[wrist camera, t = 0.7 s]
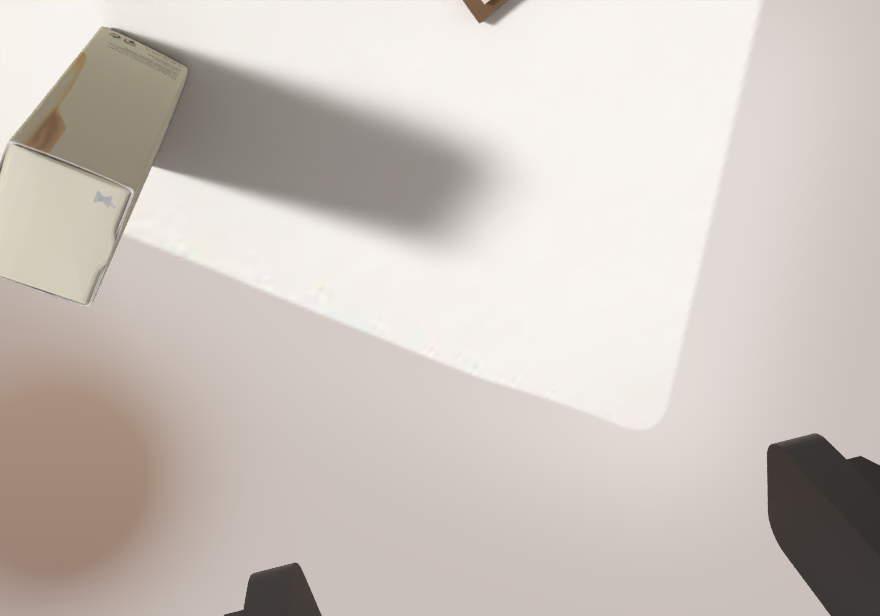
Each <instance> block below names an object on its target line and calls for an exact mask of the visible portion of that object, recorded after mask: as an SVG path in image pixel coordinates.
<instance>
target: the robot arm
mask: <svg viewBox="0 0 880 616" xmlns="http://www.w3.org/2000/svg"><path fill="white" fill-rule="evenodd" d="M767 477H768V478H767V479H768V480H767V481H768V516H769V521H770V525H771V528H772V531H773V534H774V536H775V538H776V540H777V542H778V544H779V546H780V548H781V549H782V551H783V552H784V553H785V555H786V556H787V557H788V559H789V560H790V562H791V563H792V564H793V566H794V567H795V568H796V570H797V571H798V572H799V574H800V575H801V576H802V578H803V579H804V580H805V582H806V583H807V584H808V586H809V587H810V588H811V590H812V591H813V592H814V594H815V595H816V596H817V598H818V599H819V600H820V602H821V603H822V604H823V606H824V607H825V608H826V610H827V611H828V612H829V614H830V615H831V616H880V465H878V464H876V463H874V462H871V461H870V460H868V459H866V458H864V457H862V456H859V457H855V458H851V459H847V460H846V459H845V458H844V457H843V456H842V455H841V454H840V453H839V452H838V451H837V450H836V449H835V448H834V447H833V446H832V445H831V444H830V443H829V442H828V441H827V440H826V439H825V438H824V437H822V436H821V435H819V434H810V435H807V436H802V437H799V438H794V439H790V440H787V441H783V442H779V443H775V444H771V445H770V446H769V448H768V451H767ZM224 616H322V615H321V613H320V611H319V609H318V606H317V604H316V602H315V599H314V597H313V594H312V592H311V590H310V587H309V585H308V583H307V580H306V578H305V576H304V574H303V571H302V569H301V567H300V566H299V564H298V563H292V564H288V565H284V566H280V567H276V568H272V569H269V570H264V571H260V572H256V573H253V574H252V575H251V576H250V578H249V582H248V587H247V592H246V598H245V604H244V610H241V611H238V612H233V613H229V614H225V615H224Z"/></svg>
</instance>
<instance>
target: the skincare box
mask: <svg viewBox="0 0 880 616" xmlns="http://www.w3.org/2000/svg"><path fill="white" fill-rule="evenodd" d="M188 72H189V69H188V68H187V67H186V66H184V65H182V64H180V63H178V62H176V61H174V60H172V59H171V58H169V57H167V56H165V55H163V54H161V53H159V52H157V51H155V50H153V49H151V48H149V47H147V46H145V45H143V44H141V43H139V42H137V41H135V40H133V39H131V38H129V37H126V36H124V35H122V34H120V33H118V32H115V31H113V30H111V29H109V28H106V27H101V28H100V29H99V30H98V31H97V32H96V34H95V35H94V36H93V38H92V39H91V40H90V41H89V43H88V44H87V45H86V46H85V48H84V49H83V50H82V51H81V53H80V54H79V55H78V57H77V58H76V59H75V60H74V61H73V63H72V64H71V65H70V66H69V68H68V69H67V70H66V71H65V73H64V74H63V75H62V76H61V77H60V79H59V80H58V81H57V83H56V84H55V85H54V86H53V88H52V89H51V90H50V91H49V93H48V94H47V95H46V96H45V97H44V99H43V100H42V101H41V103H40V104H39V105H38V106H37V108H36V109H35V110H34V111H33V113H32V114H31V115H30V116H29V117H28V119H27V120H26V121H25V122H24V123H23V125H22V126H21V127H20V128H19V130H18V131H17V132H16V133H15V135H14V136H13V137H12V138H11V139H10V140H9V141H8V143H7V144H6V147H5V150H4V153H3V155H2V158H1V161H0V278H2V279H5V280H7V281H10V282H14V283H16V284H19V285H21V286H24V287H27V288H30V289H33V290H36V291H39V292H42V293H44V294H47V295H50V296H53V297H56V298H59V299H62V300H65V301H67V302H70V303H73V304H76V305H79V306H82V307H88V306H90V305H91V304H92V302H93V301H94V298H95V296H96V293H97V291H98V289H99V287H100V285H101V282H102V280H103V278H104V275H105V273H106V271H107V268H108V266H109V264H110V261H111V259H112V257H113V254H114V252H115V250H116V248H117V245H118V243H119V241H120V238H121V236H122V234H123V232H124V229H125V227H126V225H127V222H128V220H129V218H130V215H131V213H132V211H133V208H134V206H135V204H136V202H137V199H138V197H139V195H140V192H141V190H142V188H143V185H144V183H145V181H146V178H147V176H148V174H149V172H150V169H151V167H152V164H153V162H154V160H155V157H156V155H157V153H158V151H159V148H160V146H161V144H162V141H163V139H164V136H165V134H166V132H167V129H168V127H169V124H170V122H171V119H172V117H173V114H174V111H175V109H176V106H177V103H178V101H179V98H180V95H181V93H182V90H183V87H184V84H185V81H186V78H187V75H188Z"/></svg>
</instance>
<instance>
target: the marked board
mask: <svg viewBox="0 0 880 616" xmlns="http://www.w3.org/2000/svg"><path fill="white" fill-rule="evenodd" d="M463 1H464V3H465V4H466V5H467V7H468V8H469V10H470V11H471V12H472V14H473V15H474V17H475V18H476V19H477V21H478V22H479V24H480V23H481V22H482V21H483V20H485V19H486V18H487V17H488V16H490V15H491V14H492V13H493V12H494V11H496V10H497V9H498V8H499V7H501V6H502V5H503V4H504V3H505V2H507V1H508V0H463Z"/></svg>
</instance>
